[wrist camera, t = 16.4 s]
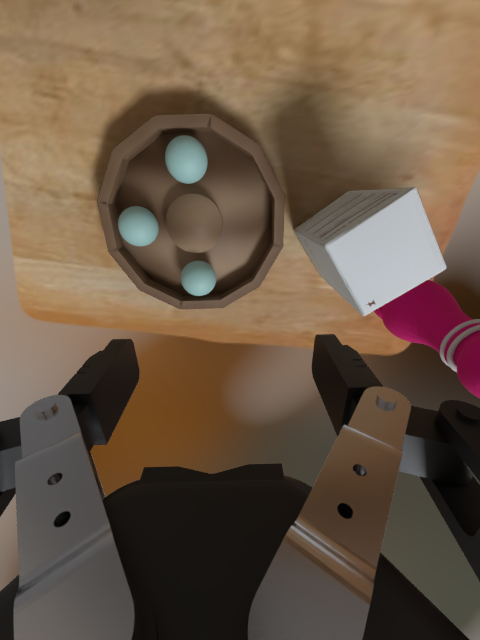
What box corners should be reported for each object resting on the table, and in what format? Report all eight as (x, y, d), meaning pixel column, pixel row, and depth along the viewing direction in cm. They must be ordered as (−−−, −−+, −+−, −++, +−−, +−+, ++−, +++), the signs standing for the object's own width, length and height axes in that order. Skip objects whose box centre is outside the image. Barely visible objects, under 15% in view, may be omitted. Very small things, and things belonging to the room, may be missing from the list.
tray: (93, 125, 27) (78, 117, 25) (282, 119, 27) (288, 111, 25) (130, 302, 35) (122, 311, 33) (277, 297, 35) (280, 306, 33)
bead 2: (169, 142, 27) (156, 130, 24) (209, 141, 27) (202, 128, 23) (173, 186, 29) (162, 181, 25) (211, 185, 29) (205, 179, 25)
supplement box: (375, 244, 33) (450, 271, 21) (320, 278, 34) (362, 320, 23) (349, 187, 30) (419, 183, 19) (291, 227, 32) (322, 246, 20)
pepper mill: (363, 323, 37) (485, 446, 19) (373, 270, 34) (530, 358, 16) (416, 321, 37) (589, 443, 19) (430, 269, 34) (652, 355, 16)
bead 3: (186, 290, 34) (179, 301, 30) (182, 257, 32) (175, 265, 28) (218, 289, 34) (216, 300, 30) (216, 256, 32) (213, 264, 28)
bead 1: (122, 205, 30) (107, 207, 26) (159, 204, 30) (149, 206, 26) (130, 243, 31) (116, 250, 28) (165, 242, 31) (155, 249, 28)
